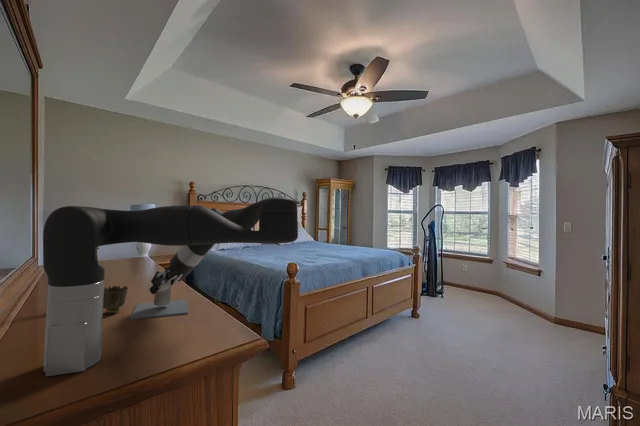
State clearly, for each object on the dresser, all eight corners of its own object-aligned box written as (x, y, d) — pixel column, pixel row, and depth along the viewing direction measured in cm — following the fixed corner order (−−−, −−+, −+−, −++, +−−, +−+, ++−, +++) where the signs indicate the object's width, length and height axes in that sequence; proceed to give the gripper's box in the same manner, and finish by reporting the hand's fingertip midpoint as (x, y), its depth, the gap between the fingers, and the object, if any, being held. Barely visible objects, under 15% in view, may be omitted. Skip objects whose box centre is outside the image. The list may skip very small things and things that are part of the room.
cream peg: (169, 304, 98) (170, 274, 99) (153, 306, 96) (154, 275, 97) (170, 301, 103) (171, 272, 103) (154, 302, 101) (155, 273, 101)
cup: (132, 310, 98) (133, 286, 98) (114, 317, 91) (115, 291, 91) (111, 308, 99) (112, 284, 99) (92, 315, 91) (93, 290, 92)
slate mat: (187, 314, 96) (187, 312, 96) (129, 319, 89) (129, 317, 89) (187, 301, 110) (187, 299, 110) (138, 305, 104) (138, 303, 104)
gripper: (177, 269, 89) (145, 304, 93) (209, 262, 103) (180, 294, 106) (164, 250, 91) (133, 286, 94) (197, 246, 105) (168, 278, 108)
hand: (158, 290), depth 100 cm, fingers closed on cream peg, 4 cm apart
